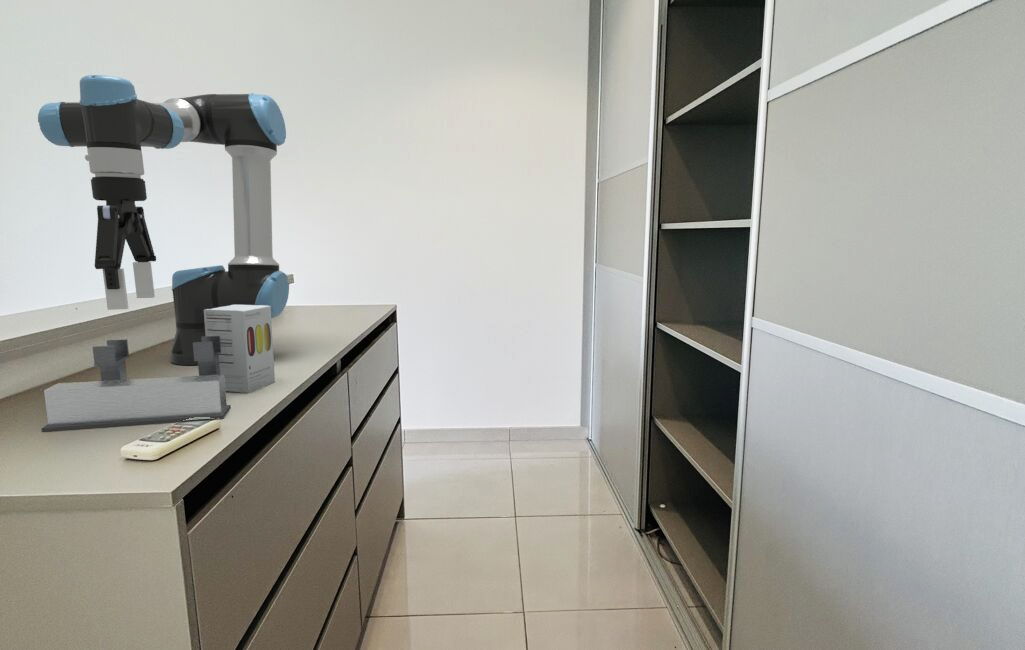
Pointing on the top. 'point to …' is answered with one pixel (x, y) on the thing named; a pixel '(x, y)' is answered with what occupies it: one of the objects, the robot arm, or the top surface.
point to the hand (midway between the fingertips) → (132, 303)
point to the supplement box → (243, 345)
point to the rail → (135, 399)
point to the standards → (117, 352)
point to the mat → (129, 422)
